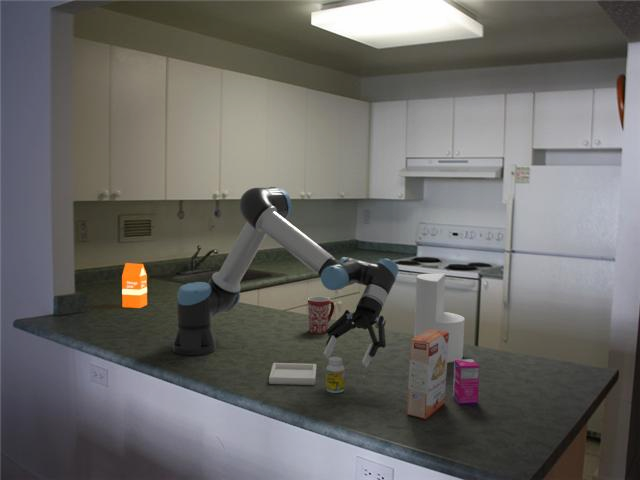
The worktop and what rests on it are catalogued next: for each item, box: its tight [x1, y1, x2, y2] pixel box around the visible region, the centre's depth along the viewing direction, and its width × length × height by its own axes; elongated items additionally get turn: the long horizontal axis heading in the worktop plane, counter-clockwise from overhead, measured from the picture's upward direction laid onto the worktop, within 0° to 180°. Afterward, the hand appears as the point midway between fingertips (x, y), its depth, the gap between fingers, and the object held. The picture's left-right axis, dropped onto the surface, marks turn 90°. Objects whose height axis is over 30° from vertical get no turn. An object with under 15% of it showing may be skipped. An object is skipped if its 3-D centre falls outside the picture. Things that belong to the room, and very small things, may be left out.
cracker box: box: [406, 329, 449, 420], centre depth 165 cm, size 14×6×21 cm, turn 147°
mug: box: [307, 296, 335, 335], centre depth 245 cm, size 13×9×14 cm
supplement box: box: [452, 358, 480, 406], centre depth 172 cm, size 6×6×12 cm
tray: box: [268, 362, 317, 386], centre depth 190 cm, size 14×14×2 cm
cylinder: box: [413, 273, 465, 363], centre depth 215 cm, size 17×17×28 cm
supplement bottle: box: [325, 356, 346, 394], centre depth 179 cm, size 5×5×10 cm
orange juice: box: [121, 262, 148, 309], centre depth 283 cm, size 8×9×20 cm
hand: (344, 360), depth 180 cm, fingers open, 13 cm apart
